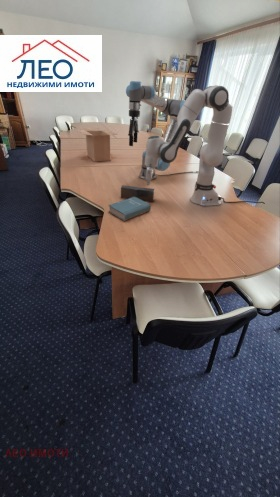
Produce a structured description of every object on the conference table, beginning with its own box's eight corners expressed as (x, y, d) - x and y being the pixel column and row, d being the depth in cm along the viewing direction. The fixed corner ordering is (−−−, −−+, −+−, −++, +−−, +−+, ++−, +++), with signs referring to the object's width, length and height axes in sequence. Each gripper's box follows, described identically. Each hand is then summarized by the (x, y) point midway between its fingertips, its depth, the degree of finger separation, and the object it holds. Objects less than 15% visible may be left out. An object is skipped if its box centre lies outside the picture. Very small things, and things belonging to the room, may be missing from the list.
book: (133, 203, 159) (134, 196, 156) (150, 211, 150) (150, 204, 147) (108, 212, 145) (108, 205, 142) (125, 221, 137) (125, 214, 134)
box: (120, 162, 240) (121, 134, 224) (89, 164, 226) (86, 135, 210) (106, 152, 270) (105, 127, 254) (77, 154, 256) (74, 127, 240)
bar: (120, 198, 165) (120, 187, 160) (122, 195, 168) (122, 185, 164) (152, 202, 162) (153, 191, 158) (153, 199, 166) (154, 189, 161)
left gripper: (135, 111, 138) (134, 148, 150) (143, 109, 157) (141, 141, 170) (124, 110, 139) (123, 147, 151) (133, 108, 158) (132, 140, 171)
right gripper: (154, 167, 140) (151, 188, 148) (157, 159, 156) (155, 178, 164) (144, 166, 140) (142, 187, 149) (148, 158, 157) (146, 177, 165)
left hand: (133, 144), depth 161 cm, fingers open, 13 cm apart
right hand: (149, 182), depth 157 cm, fingers open, 8 cm apart
